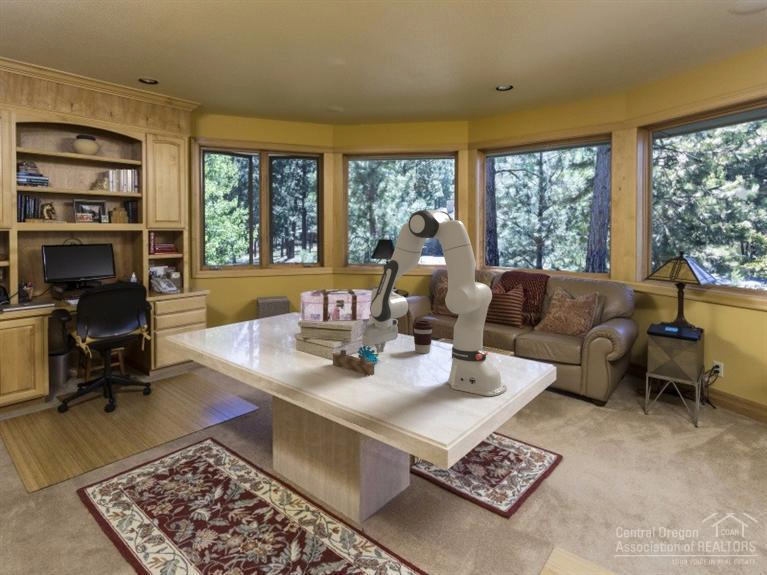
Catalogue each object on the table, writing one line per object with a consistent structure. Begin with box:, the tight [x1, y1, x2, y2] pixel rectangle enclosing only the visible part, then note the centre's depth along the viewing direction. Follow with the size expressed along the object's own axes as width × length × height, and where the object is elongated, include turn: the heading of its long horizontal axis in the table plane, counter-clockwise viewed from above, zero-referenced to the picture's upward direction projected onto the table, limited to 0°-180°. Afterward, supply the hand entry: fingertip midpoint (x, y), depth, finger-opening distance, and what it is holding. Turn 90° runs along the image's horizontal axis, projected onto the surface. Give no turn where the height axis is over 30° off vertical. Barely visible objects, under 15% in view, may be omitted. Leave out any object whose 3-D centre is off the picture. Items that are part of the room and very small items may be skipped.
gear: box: [357, 345, 380, 366], centre depth 198 cm, size 11×6×10 cm
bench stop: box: [332, 349, 375, 377], centre depth 189 cm, size 22×3×7 cm, turn 48°
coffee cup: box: [412, 320, 434, 355], centre depth 218 cm, size 10×10×15 cm
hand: (380, 352), depth 201 cm, fingers closed
